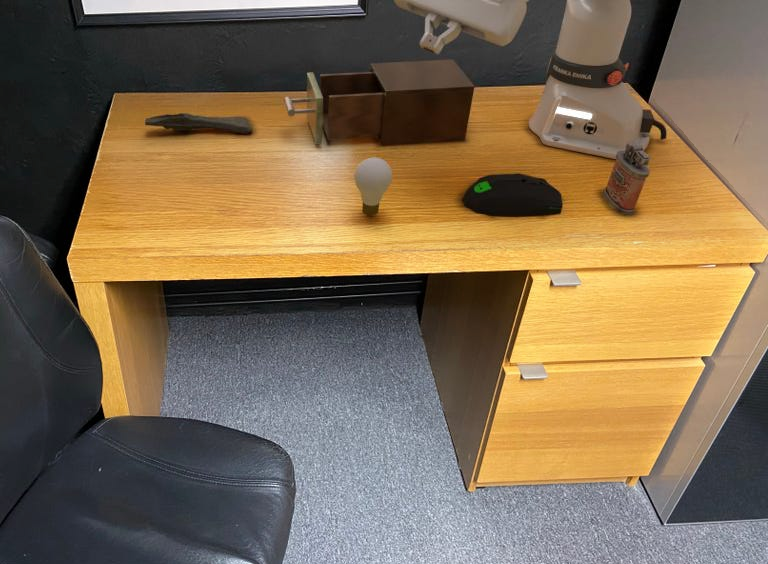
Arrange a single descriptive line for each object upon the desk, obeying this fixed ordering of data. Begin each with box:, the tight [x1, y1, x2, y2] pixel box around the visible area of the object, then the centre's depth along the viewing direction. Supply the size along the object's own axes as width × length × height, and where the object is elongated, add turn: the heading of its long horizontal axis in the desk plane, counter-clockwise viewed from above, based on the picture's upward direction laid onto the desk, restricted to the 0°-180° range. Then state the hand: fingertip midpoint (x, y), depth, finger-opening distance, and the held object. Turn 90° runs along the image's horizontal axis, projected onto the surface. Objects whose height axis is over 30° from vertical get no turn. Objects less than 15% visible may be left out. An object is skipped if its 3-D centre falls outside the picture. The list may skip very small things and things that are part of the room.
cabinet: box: [369, 59, 476, 147], centre depth 135 cm, size 17×14×11 cm
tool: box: [144, 112, 253, 134], centre depth 137 cm, size 21×8×3 cm, turn 101°
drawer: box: [283, 71, 385, 145], centre depth 133 cm, size 20×12×9 cm, turn 97°
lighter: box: [602, 142, 651, 216], centre depth 113 cm, size 8×3×10 cm, turn 5°
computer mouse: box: [461, 172, 564, 218], centre depth 117 cm, size 11×16×4 cm
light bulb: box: [354, 156, 393, 217], centre depth 111 cm, size 6×6×10 cm
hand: (428, 49), depth 102 cm, fingers closed
